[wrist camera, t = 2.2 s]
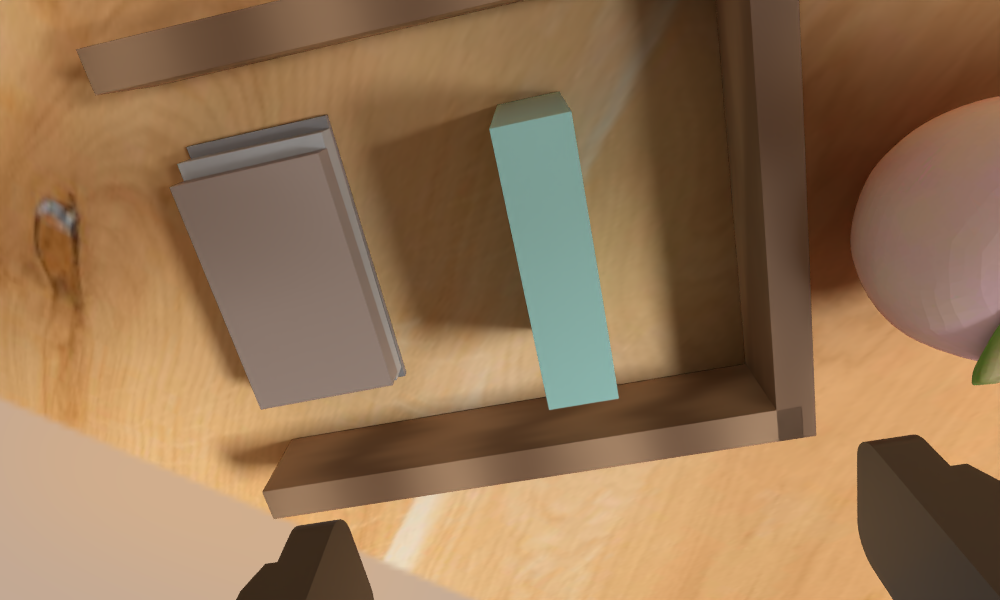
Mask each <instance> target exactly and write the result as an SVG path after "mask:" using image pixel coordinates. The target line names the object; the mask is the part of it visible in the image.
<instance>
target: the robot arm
mask: <svg viewBox="0 0 1000 600" xmlns="http://www.w3.org/2000/svg"><path fill="white" fill-rule="evenodd" d="M857 514H858V530H859V535H860V539H861V543H862V546H863V549H864V552H865V554H866V556H867V559H868V561H869V563H870V565H871V566H872V568H873V570H874V571H875V573H876V574H877V576H878V577H879V579H880V580H881V582H882V583H883V585H884V586H885V588H886V589H887V591H888V592H889V594H890V595H891V597H892V599H893V600H1000V481H999V480H997V479H995V478H993V477H991V476H990V475H988V474H986V473H984V472H982V471H980V470H978V469H976V468H974V467H972V466H970V465H968V464H961V465H955V466H950V465H949V464H948V463H947V462H946V461H945V460H944V459H943V458H942V457H941V456H940V455H939V454H938V453H937V452H936V451H935V450H934V449H933V448H932V447H931V446H930V445H929V444H928V443H927V442H926V441H925V440H924V439H923V438H922V437H920V436H918V435H907V436H901V437H894V438H888V439H881V440H874V441H868V442H862V443H861V444H860V445H859V447H858V452H857ZM236 600H374V598H373V593H372V589H371V586H370V583H369V581H368V578H367V575H366V572H365V570H364V567H363V564H362V561H361V559H360V556H359V553H358V550H357V548H356V545H355V542H354V540H353V537H352V534H351V531H350V529H349V527H348V525H347V523H346V522H345V521H344V520H341V519H340V520H333V521H327V522H320V523H313V524H307V525H300V526H296V527H295V528H294V529H293V530H292V532H291V534H290V536H289V538H288V540H287V542H286V544H285V547H284V549H283V551H282V553H281V556H280V558H279V560H278V562H275V563H268V564H265V565H264V566H263V567H262V568H261V570H260V571H259V572H258V573H257V574H256V575H255V576H254V577H253V578H252V579H251V580H250V581H249V582H248V584H247V585H246V586H245V587H244V588H243V589H242V590H241V591H240V593H239V595H238V597H237V599H236Z"/></svg>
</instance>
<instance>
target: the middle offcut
mask: <svg viewBox="0 0 1000 600" xmlns="http://www.w3.org/2000/svg"><path fill="white" fill-rule="evenodd" d="M325 148H327V150H328V153H329V157H330V160H331V163H332V166H333V169H334V172H335V176H336V179H337V182H338V185H339V188H340V191H341V195H342V198H343V201H344V204H345V207H346V210H347V213H348V217H349V220H350V223H351V226H352V229H353V232H354V236H355V239H356V242H357V245H358V248H359V251H360V255H361V258H362V261H363V264H364V267H365V270H366V273H367V277H368V280H369V283H370V286H371V289H372V292H373V296H374V299H375V302H376V305H377V308H378V311H379V315H380V318H381V321H382V324H383V327H384V330H385V334H386V337H387V340H388V343H389V346H390V349H391V352H392V356H393V359H394V362H395V365H396V368H397V371H398V372H397V375H396V377H395V380H397V377H398V375H399V372H400V369H401V364H400V361H399V358H398V354H397V351H396V348H395V344H394V341H393V338H392V334H391V331H390V328H389V324H388V321H387V318H386V314H385V311H384V308H383V304H382V301H381V298H380V294H379V291H378V288H377V284H376V281H375V278H374V275H373V271H372V268H371V265H370V261H369V258H368V255H367V251H366V248H365V245H364V241H363V238H362V235H361V231H360V228H359V225H358V221H357V218H356V215H355V211H354V208H353V205H352V201H351V198H350V195H349V191H348V188H347V185H346V181H345V178H344V175H343V171H342V168H341V165H340V161H339V158H338V155H337V151H336V148H335V145H334V141H333V138H332V135H331V131H330V128H328V129H324V130H319V131H315V132H310V133H306V134H301V135H297V136H292V137H288V138H283V139H279V140H274V141H269V142H265V143H260V144H256V145H251V146H247V147H242V148H238V149H233V150H229V151H224V152H220V153H215V154H211V155H206V156H202V157H197V158H192V159H189V160H187V161H184V162H181V163H179V164H177V165H178V168H179V170H180V173H181V175H182V178H183V180H184V181H186V180H191V179H195V178H199V177H204V176H208V175H212V174H217V173H221V172H225V171H230V170H234V169H238V168H243V167H247V166H251V165H256V164H260V163H264V162H269V161H273V160H277V159H282V158H286V157H290V156H295V155H299V154H304V153H308V152H312V151H317V150H321V149H325Z"/></svg>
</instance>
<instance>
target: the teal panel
mask: <svg viewBox="0 0 1000 600" xmlns="http://www.w3.org/2000/svg"><path fill="white" fill-rule="evenodd" d="M489 130H490V135H491V139H492V144H493V149H494V153H495V158H496V163H497V167H498V172H499V177H500V182H501V186H502V191H503V196H504V200H505V205H506V210H507V215H508V219H509V224H510V229H511V233H512V238H513V243H514V247H515V252H516V257H517V262H518V266H519V271H520V276H521V280H522V285H523V290H524V295H525V299H526V304H527V309H528V313H529V318H530V323H531V327H532V332H533V337H534V342H535V346H536V351H537V356H538V360H539V365H540V370H541V375H542V379H543V384H544V389H545V393H546V398H547V403H548V407H549V410H552V409H558V408H565V407H571V406H577V405H583V404H589V403H595V402H601V401H607V400H613V399H619V396H618V390H617V384H616V378H615V372H614V365H613V359H612V353H611V347H610V341H609V335H608V329H607V323H606V317H605V311H604V305H603V299H602V293H601V287H600V281H599V275H598V269H597V263H596V257H595V251H594V245H593V239H592V233H591V227H590V221H589V215H588V209H587V202H586V196H585V190H584V184H583V178H582V172H581V166H580V160H579V154H578V148H577V142H576V136H575V130H574V124H573V118H572V112H571V110H570V108H569V107H568V105H567V103H566V102H565V100H564V98H563V97H562V95H561V93H560V92H559V91H558V92H554V93H549V94H545V95H540V96H535V97H531V98H526V99H522V100H517V101H512V102H508V103H503V104H498V105H497V107H496V110H495V113H494V116H493V119H492V122H491V125H490V128H489Z"/></svg>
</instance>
